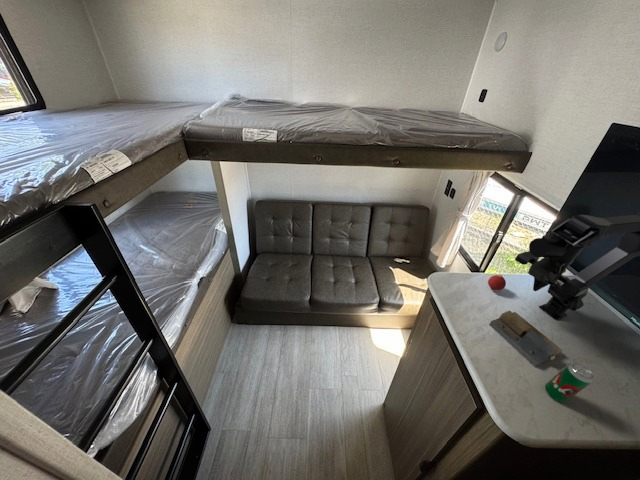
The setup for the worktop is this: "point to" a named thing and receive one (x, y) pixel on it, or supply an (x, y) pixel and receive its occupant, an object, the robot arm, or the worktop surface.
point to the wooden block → (523, 327)
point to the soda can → (569, 382)
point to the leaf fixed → (526, 343)
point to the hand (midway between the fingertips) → (534, 290)
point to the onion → (497, 282)
